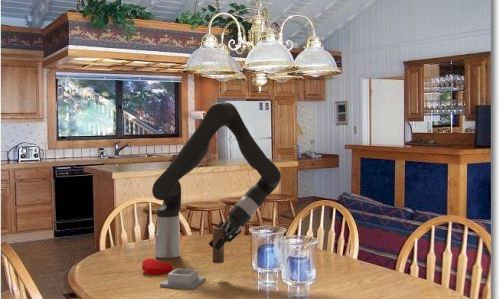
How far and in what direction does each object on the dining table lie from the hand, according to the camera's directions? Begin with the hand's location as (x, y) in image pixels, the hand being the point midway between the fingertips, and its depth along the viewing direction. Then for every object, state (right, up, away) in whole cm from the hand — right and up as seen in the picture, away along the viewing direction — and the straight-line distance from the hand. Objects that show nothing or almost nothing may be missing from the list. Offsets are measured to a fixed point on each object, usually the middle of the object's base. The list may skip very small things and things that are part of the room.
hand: (213, 247), depth 195 cm
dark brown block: (+2, -6, +1) cm, 6 cm away
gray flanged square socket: (-10, -12, -5) cm, 16 cm away
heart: (-23, -12, +10) cm, 27 cm away
